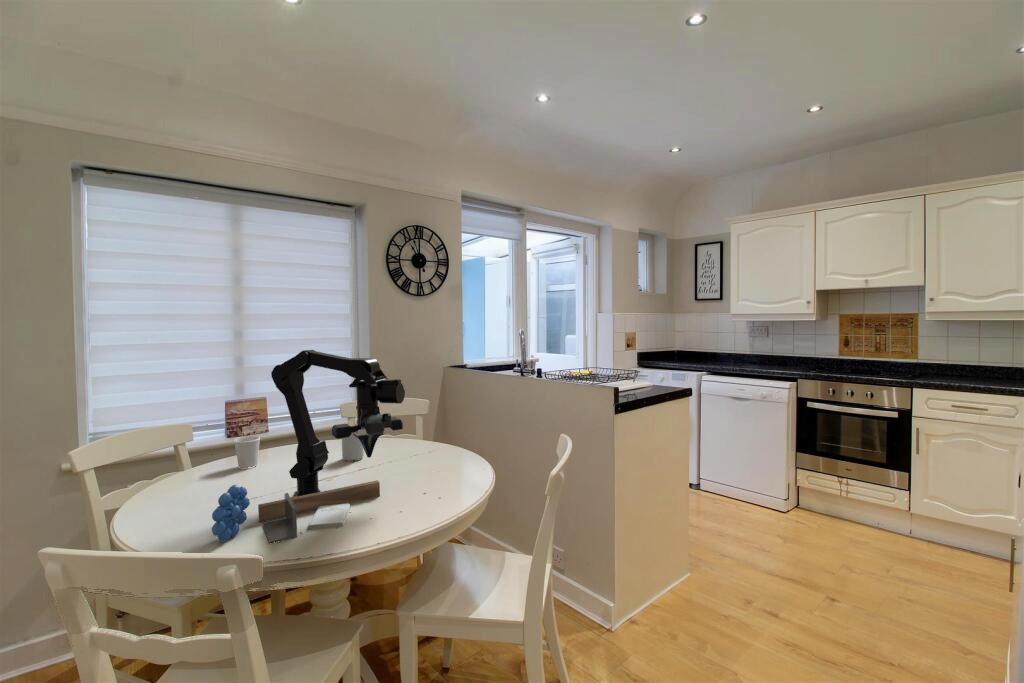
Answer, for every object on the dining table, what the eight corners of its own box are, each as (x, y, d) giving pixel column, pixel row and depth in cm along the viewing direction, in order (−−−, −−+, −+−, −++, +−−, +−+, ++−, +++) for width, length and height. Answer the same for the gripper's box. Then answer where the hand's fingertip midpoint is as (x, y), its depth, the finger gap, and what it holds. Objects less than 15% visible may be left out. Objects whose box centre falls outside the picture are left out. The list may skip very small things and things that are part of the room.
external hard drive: (307, 531, 115) (318, 511, 127) (343, 528, 117) (350, 508, 129) (307, 525, 115) (318, 505, 127) (342, 521, 117) (350, 502, 129)
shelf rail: (258, 519, 121) (258, 504, 121) (377, 493, 139) (377, 480, 138) (259, 522, 120) (259, 507, 119) (379, 495, 137) (379, 482, 137)
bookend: (263, 525, 118) (262, 497, 118) (288, 519, 121) (287, 492, 121) (269, 543, 108) (268, 513, 108) (297, 537, 111) (296, 507, 111)
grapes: (232, 525, 118) (230, 478, 118) (257, 526, 117) (255, 478, 117) (196, 547, 106) (194, 495, 106) (224, 548, 106) (222, 496, 105)
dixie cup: (263, 462, 172) (261, 435, 172) (259, 468, 164) (258, 440, 164) (237, 464, 169) (235, 437, 169) (232, 471, 161) (231, 442, 161)
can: (338, 459, 173) (337, 427, 173) (355, 455, 180) (354, 423, 179) (350, 463, 169) (349, 430, 169) (368, 458, 175) (367, 426, 175)
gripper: (340, 411, 122) (342, 470, 122) (409, 403, 132) (410, 458, 133) (330, 405, 131) (332, 460, 132) (395, 398, 141) (396, 449, 142)
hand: (369, 457), depth 134 cm, fingers closed
